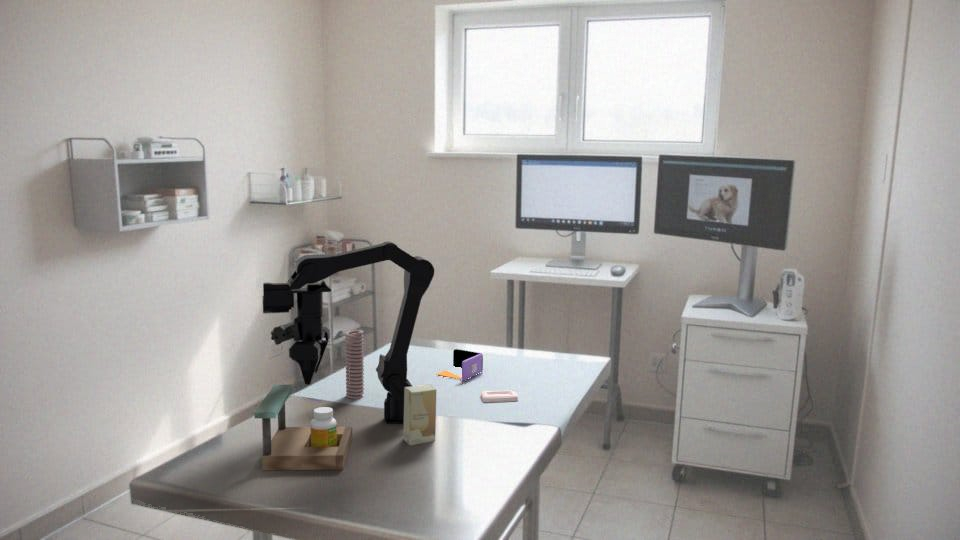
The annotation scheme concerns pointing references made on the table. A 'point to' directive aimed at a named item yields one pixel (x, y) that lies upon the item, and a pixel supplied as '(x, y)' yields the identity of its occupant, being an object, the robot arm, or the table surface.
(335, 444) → the supplement bottle
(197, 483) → the table surface
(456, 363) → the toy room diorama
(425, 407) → the skincare box
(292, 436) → the socket plate
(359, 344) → the coil
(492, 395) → the soap bar
